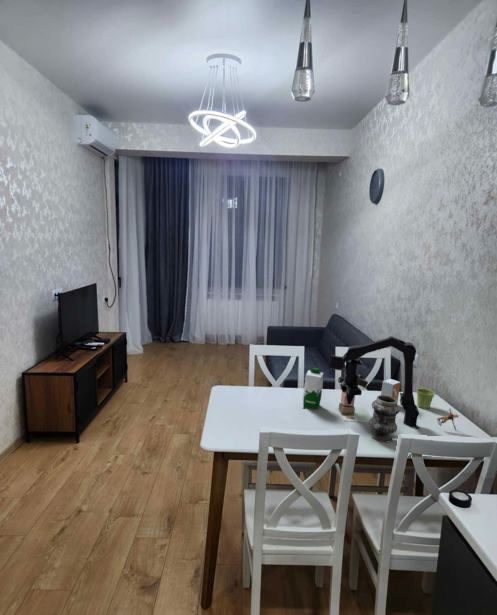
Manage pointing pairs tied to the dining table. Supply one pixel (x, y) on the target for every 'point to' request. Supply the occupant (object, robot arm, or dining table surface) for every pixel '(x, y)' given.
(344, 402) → the pink knobbed block
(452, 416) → the action figure
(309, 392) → the milk carton
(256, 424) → the dining table surface
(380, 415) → the ornate grey vase
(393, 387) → the small box
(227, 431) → the dining table surface
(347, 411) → the walnut brick
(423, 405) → the plant pot
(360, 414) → the board
